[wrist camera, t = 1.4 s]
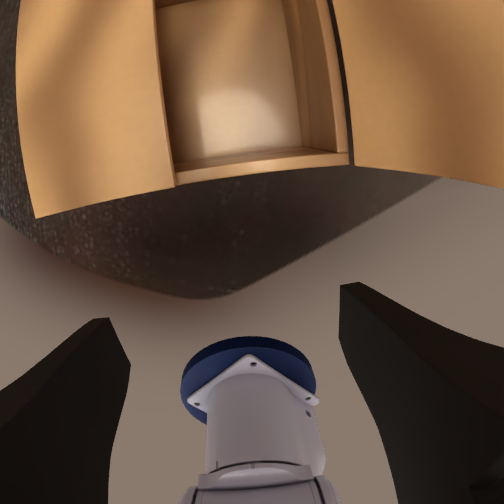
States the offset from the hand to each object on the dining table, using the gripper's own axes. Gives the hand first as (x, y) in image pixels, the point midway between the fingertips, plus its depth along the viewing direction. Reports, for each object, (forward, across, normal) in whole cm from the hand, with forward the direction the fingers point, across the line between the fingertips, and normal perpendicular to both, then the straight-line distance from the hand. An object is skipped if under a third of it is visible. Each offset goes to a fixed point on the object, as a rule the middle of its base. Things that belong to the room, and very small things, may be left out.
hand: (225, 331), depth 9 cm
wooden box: (+10, +1, -9) cm, 14 cm away
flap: (0, -7, -9) cm, 12 cm away
